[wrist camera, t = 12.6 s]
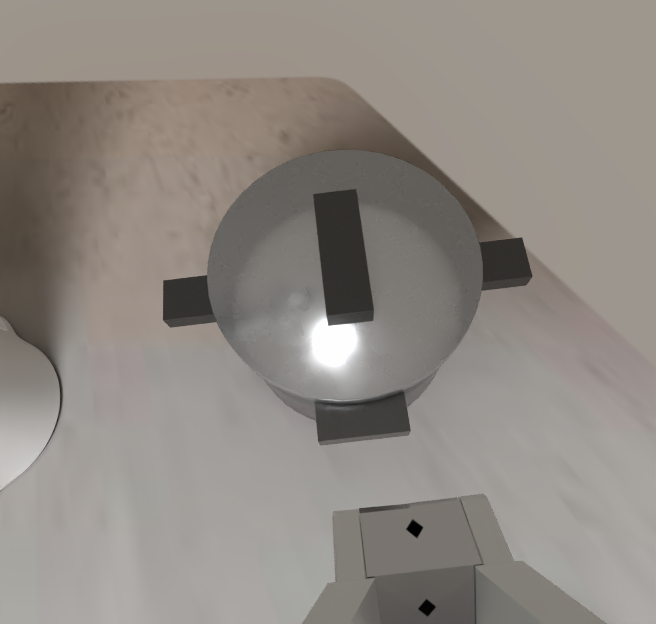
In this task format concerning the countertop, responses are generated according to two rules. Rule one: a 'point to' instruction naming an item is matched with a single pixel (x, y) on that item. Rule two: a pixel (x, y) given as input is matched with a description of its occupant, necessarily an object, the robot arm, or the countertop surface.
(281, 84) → the countertop surface
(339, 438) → the cooker pot
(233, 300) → the cooker lid
